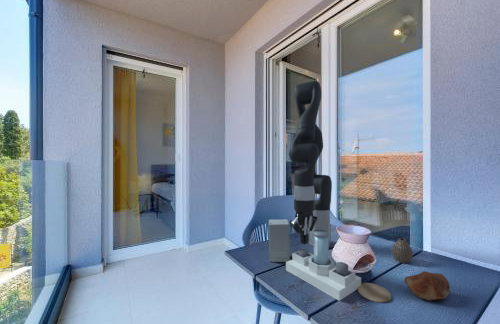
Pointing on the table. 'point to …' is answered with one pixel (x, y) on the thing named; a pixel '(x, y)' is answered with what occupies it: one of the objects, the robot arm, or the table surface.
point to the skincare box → (279, 240)
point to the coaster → (374, 292)
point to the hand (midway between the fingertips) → (304, 243)
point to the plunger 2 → (342, 269)
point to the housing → (323, 276)
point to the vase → (402, 251)
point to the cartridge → (321, 247)
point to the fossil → (428, 285)
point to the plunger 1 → (303, 253)
